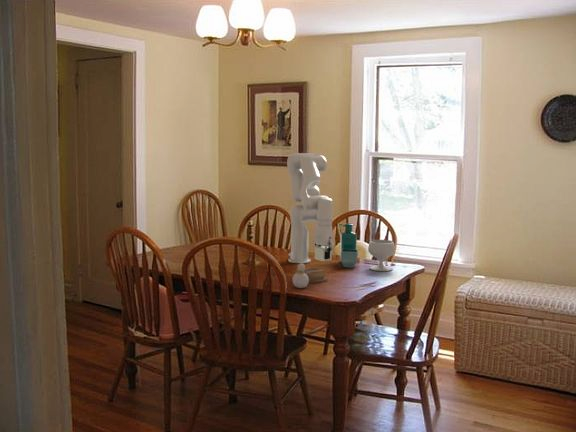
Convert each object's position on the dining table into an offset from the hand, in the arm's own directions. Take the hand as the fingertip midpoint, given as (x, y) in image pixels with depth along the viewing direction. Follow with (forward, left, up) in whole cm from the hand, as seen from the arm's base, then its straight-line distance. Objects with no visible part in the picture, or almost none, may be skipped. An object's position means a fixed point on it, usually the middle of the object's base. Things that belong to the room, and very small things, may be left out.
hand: (323, 257), depth 310 cm
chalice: (+7, +34, -9) cm, 35 cm away
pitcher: (-17, +31, -9) cm, 36 cm away
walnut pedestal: (+8, -14, -8) cm, 18 cm away
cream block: (0, 0, -1) cm, 1 cm away
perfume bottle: (+19, -27, -9) cm, 34 cm away
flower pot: (-7, +24, -9) cm, 26 cm away
